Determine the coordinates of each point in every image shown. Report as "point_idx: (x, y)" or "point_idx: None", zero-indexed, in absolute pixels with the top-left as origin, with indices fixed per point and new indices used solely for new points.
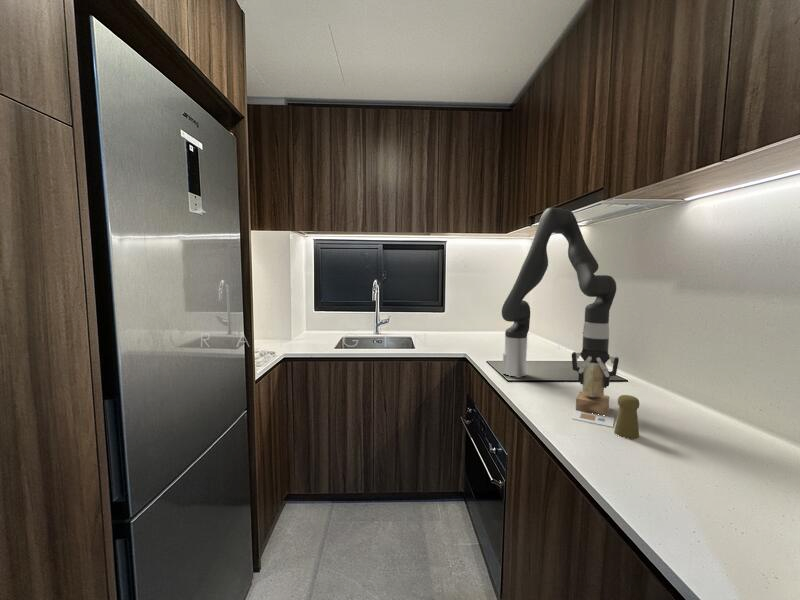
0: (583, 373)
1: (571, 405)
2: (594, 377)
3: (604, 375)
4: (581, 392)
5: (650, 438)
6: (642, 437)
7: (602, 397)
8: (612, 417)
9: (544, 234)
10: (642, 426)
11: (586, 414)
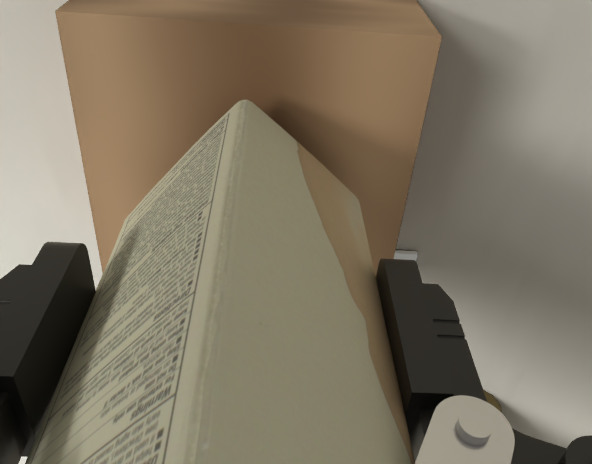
0: (38, 440)
1: (67, 124)
2: None
3: (398, 432)
4: (92, 66)
5: (551, 416)
6: (513, 420)
7: (348, 145)
8: (404, 256)
9: None
10: (576, 297)
11: None
